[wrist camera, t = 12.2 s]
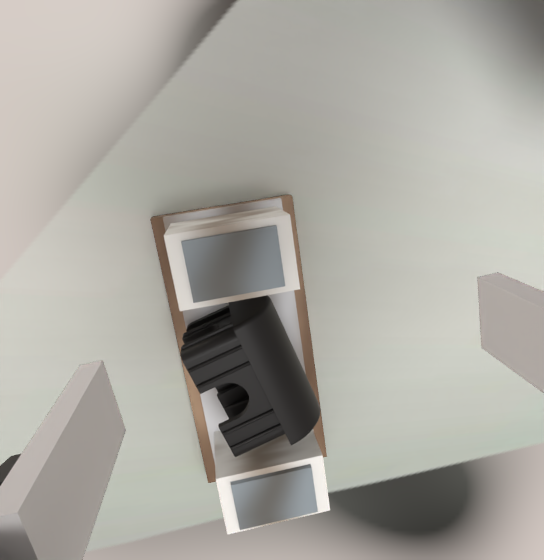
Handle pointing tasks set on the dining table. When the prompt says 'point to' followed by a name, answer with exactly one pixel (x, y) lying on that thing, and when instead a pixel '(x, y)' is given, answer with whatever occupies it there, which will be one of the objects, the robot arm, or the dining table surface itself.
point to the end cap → (251, 374)
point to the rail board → (294, 316)
